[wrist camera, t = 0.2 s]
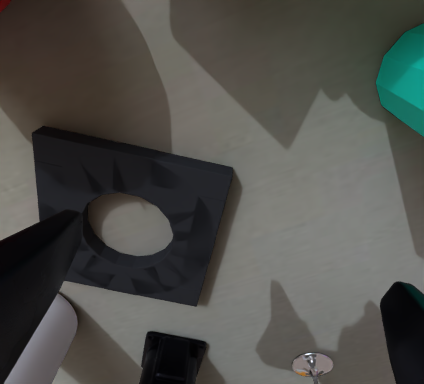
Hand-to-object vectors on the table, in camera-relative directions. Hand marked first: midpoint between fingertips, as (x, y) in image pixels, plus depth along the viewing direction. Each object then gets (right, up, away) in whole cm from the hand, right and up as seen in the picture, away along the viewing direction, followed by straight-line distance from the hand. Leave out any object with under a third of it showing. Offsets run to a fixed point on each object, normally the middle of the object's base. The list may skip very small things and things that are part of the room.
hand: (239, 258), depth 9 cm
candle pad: (-7, -1, +18) cm, 19 cm away
